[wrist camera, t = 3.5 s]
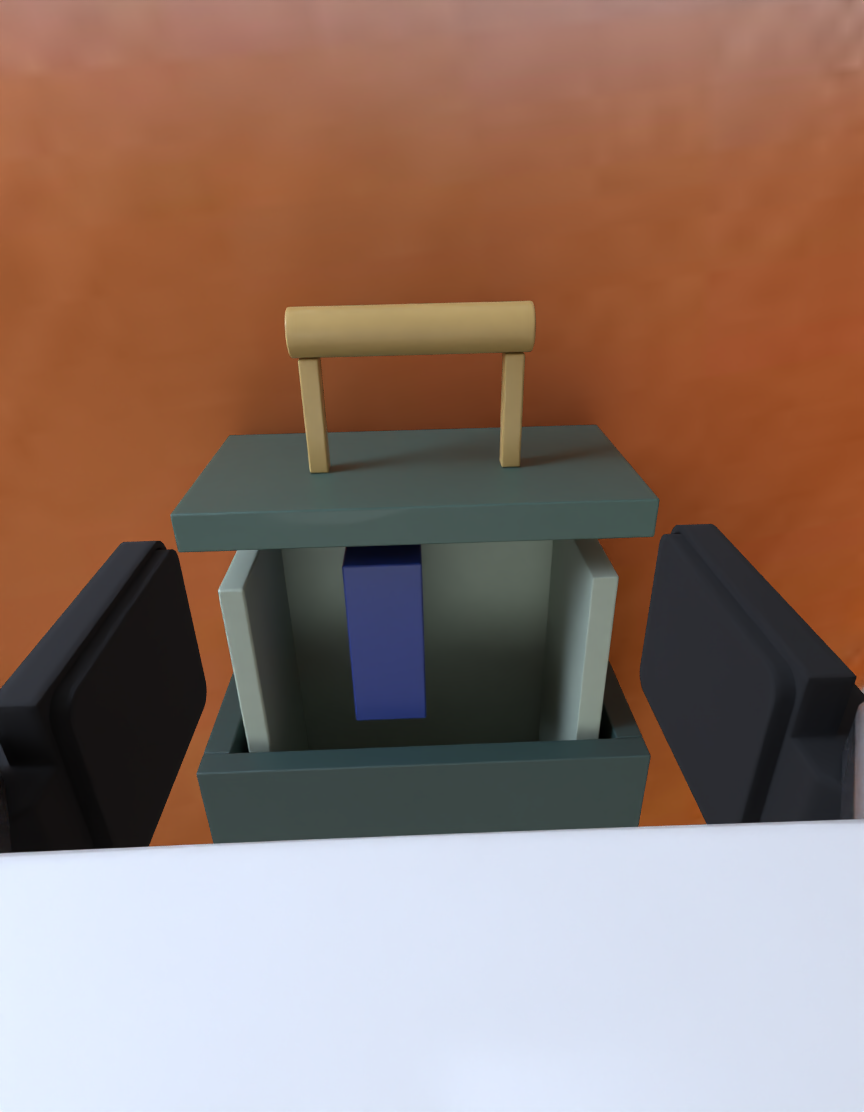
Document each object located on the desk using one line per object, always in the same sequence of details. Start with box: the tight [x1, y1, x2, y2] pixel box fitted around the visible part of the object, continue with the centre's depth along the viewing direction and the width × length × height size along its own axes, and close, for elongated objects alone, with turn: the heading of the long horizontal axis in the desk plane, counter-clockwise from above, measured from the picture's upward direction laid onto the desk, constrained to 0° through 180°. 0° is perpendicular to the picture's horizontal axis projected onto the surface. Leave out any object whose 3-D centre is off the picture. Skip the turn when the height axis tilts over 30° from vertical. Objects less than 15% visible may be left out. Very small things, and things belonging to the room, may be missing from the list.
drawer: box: [171, 301, 659, 753], centre depth 24 cm, size 20×14×7 cm, turn 1°
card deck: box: [342, 544, 427, 721], centre depth 24 cm, size 6×2×5 cm, turn 1°
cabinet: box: [197, 660, 651, 844], centre depth 30 cm, size 17×15×9 cm
